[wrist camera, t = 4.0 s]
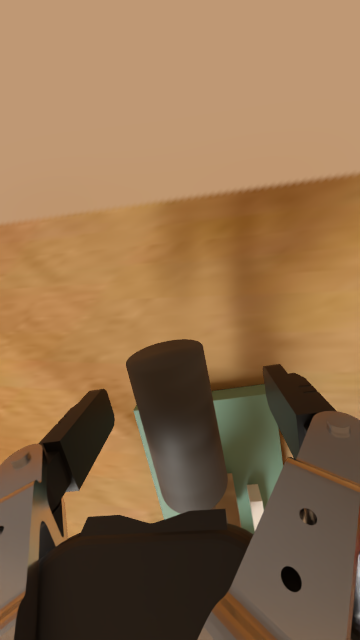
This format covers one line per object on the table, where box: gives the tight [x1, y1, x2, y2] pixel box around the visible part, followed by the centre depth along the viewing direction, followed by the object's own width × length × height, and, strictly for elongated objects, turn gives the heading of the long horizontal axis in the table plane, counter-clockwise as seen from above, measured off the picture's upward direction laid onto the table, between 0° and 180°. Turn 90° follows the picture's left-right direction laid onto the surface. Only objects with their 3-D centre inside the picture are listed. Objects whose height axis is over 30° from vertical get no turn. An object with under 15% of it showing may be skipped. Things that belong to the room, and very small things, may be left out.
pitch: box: [134, 384, 283, 534], centre depth 20 cm, size 12×32×6 cm, turn 12°
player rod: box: [126, 339, 242, 528], centre depth 12 cm, size 4×19×12 cm, turn 12°
